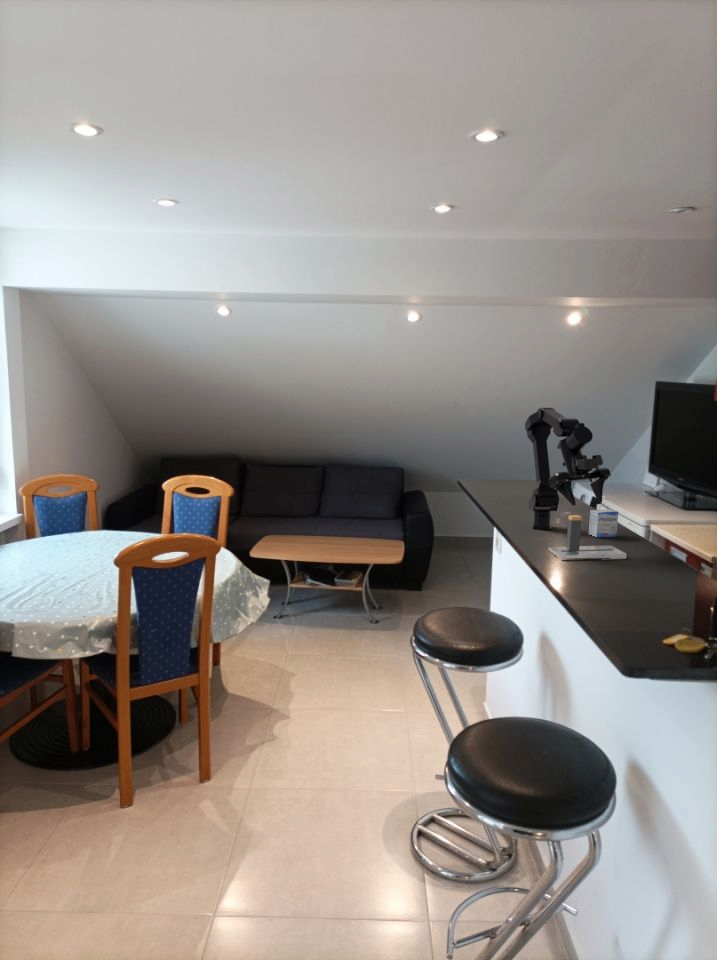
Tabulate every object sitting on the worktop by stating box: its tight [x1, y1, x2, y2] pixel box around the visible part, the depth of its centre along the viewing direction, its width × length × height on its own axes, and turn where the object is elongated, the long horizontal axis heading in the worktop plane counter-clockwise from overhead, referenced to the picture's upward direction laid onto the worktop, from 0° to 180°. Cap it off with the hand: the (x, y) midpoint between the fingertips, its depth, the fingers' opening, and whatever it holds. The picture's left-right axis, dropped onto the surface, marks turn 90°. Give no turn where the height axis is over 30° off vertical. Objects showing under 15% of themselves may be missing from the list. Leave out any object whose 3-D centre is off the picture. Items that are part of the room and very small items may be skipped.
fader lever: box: [565, 514, 582, 551], centre depth 191 cm, size 3×2×10 cm, turn 97°
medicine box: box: [588, 508, 619, 538], centre depth 215 cm, size 8×4×9 cm, turn 105°
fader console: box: [548, 545, 628, 560], centre depth 193 cm, size 20×9×2 cm, turn 97°
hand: (587, 503), depth 195 cm, fingers open, 9 cm apart
